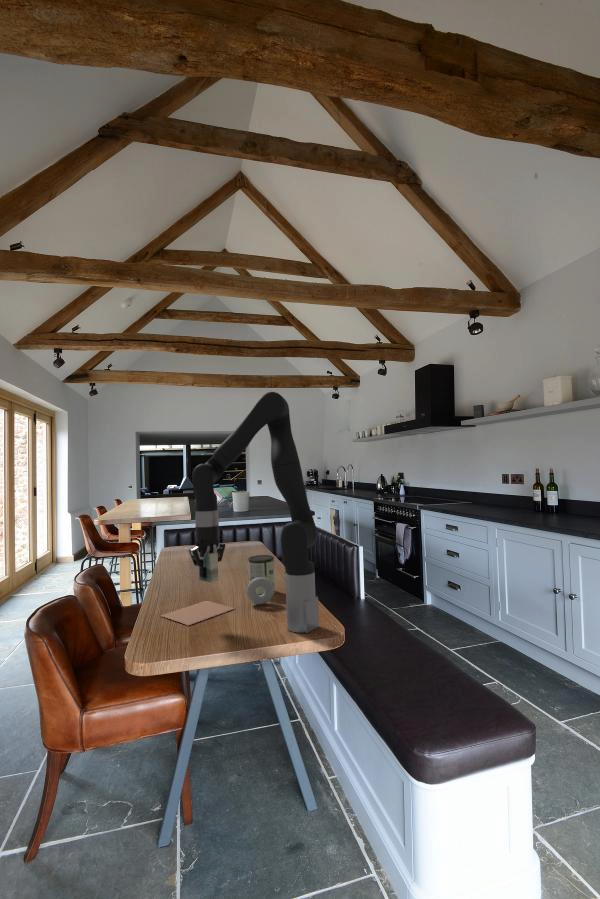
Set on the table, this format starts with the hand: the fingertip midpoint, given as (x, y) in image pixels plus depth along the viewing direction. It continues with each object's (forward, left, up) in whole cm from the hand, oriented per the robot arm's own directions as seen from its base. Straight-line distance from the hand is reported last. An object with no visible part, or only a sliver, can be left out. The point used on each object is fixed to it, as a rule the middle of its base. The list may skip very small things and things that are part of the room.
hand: (208, 576), depth 145 cm
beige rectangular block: (0, 0, -1) cm, 1 cm away
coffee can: (+10, -34, -15) cm, 39 cm away
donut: (0, -23, -15) cm, 28 cm away
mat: (+12, -4, -15) cm, 20 cm away
